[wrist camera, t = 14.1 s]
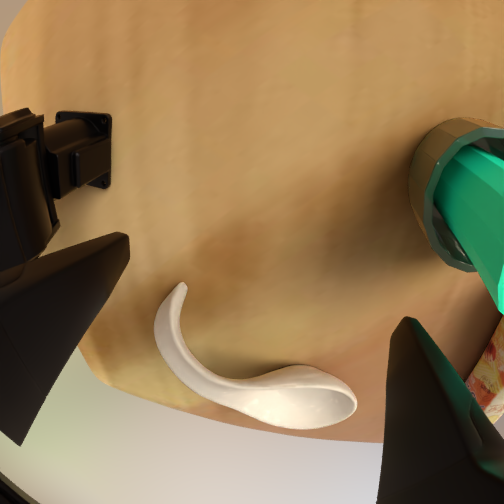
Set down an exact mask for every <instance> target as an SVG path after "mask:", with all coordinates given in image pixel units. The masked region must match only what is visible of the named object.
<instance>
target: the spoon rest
mask: <svg viewBox="0 0 504 504" xmlns="http://www.w3.org/2000/svg"><path fill="white" fill-rule="evenodd" d="M187 290H188V289H187V286H186V284H185V283H184V282H181V283H179V284H178V285H177V286H176V287H175V288H174V289H173V290H172V292H171V293H170V294H169V295H168V296H167V297H166V299H165V300H164V301H163V302H162V304H161V305H160V307H159V309H158V311H157V314H156V317H155V321H154V335H155V340H156V344H157V347H158V349H159V351H160V353H161V355H162V357H163V359H164V360H165V362H166V363H167V365H168V366H169V368H170V369H171V370H172V372H173V373H174V374H175V375H176V376H177V377H178V378H179V379H180V380H181V381H182V382H183V383H184V384H185V385H186V386H187V387H188V388H190V389H191V390H192V391H194V392H195V393H197V394H198V395H200V396H202V397H204V398H206V399H209V400H211V401H213V402H216V403H219V404H221V405H224V406H227V407H230V408H232V409H235V410H237V411H240V412H242V413H244V414H246V415H248V416H251V417H253V418H255V419H257V420H260V421H262V422H265V423H267V424H270V425H274V426H278V427H283V428H290V429H315V428H322V427H326V426H329V425H332V424H335V423H338V422H340V421H343V420H345V419H346V418H348V417H349V416H350V415H352V414H353V413H354V411H355V410H356V408H357V399H356V397H355V395H354V393H353V392H352V391H351V389H350V388H349V387H348V386H347V385H346V384H345V383H344V382H343V381H341V380H340V379H338V378H336V377H335V376H333V375H331V374H328V373H326V372H323V371H321V370H319V369H317V368H315V367H311V366H306V365H292V366H288V367H285V368H282V369H278V370H275V371H272V372H269V373H266V374H264V375H261V376H257V377H253V378H248V379H229V378H225V377H222V376H219V375H217V374H215V373H213V372H211V371H210V370H208V369H207V368H205V367H204V366H203V365H202V364H201V363H200V362H199V361H198V360H197V359H196V358H195V357H194V356H193V355H192V353H191V352H190V350H189V349H188V347H187V346H186V344H185V342H184V340H183V337H182V334H181V330H180V312H181V308H182V305H183V302H184V299H185V296H186V294H187Z"/></svg>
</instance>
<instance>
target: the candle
mask: <svg viewBox="0 0 504 504" xmlns="http://www.w3.org/2000/svg"><path fill="white" fill-rule="evenodd" d="M433 199H434V202H435V204H436V207H437V210H438V212H439V213H440V215H441V216H442V218H443V219H444V220H445V222H446V223H447V225H448V226H449V228H450V229H451V231H452V232H453V233H454V235H455V236H456V238H457V239H458V241H459V243H460V244H461V246H462V247H463V249H464V250H465V252H466V253H467V255H468V257H469V258H470V260H471V262H472V263H473V265H474V267H475V268H476V270H477V272H478V273H479V275H480V277H481V278H482V280H483V282H484V284H485V286H486V287H487V289H488V291H489V293H490V295H491V297H492V299H493V300H494V302H495V304H496V306H497V308H498V310H499V311H500V312H501V313H502V314H503V315H504V161H503V160H502V159H500V158H498V157H496V156H495V155H493V154H491V153H490V152H488V151H486V150H484V149H483V148H479V147H474V146H469V145H465V146H463V147H461V148H460V150H459V151H458V152H457V153H456V154H455V155H454V156H453V158H452V159H451V160H450V161H449V162H448V163H447V164H446V165H445V167H444V168H443V171H442V173H441V176H440V178H439V181H438V183H437V186H436V188H435V191H434V193H433Z"/></svg>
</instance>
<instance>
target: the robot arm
mask: <svg viewBox="0 0 504 504" xmlns="http://www.w3.org/2000/svg"><path fill="white" fill-rule="evenodd" d="M60 115H61V117H60ZM105 118H106V120H107V121H106V122H105ZM43 122H44V114H43V115H37V116H36V115H35V114H33V113H31V111H30V110H29V108H23V109H20V110H17V111H14V112H11V113H8V114H5V115H2V116H0V431H1V432H3V433H4V434H5V435H6V436H7V437H9V438H10V439H11V440H12V441H13V442H15V443H16V444H17V445H18V446H21V445H22V443H23V441H24V439H25V437H26V435H27V433H28V431H29V429H30V427H31V425H32V423H33V421H34V419H35V418H36V416H37V414H38V412H39V410H40V408H41V406H42V404H43V403H44V401H45V399H46V396H47V395H48V393H49V392H50V390H51V388H52V386H53V385H54V383H55V381H56V379H57V378H58V376H59V374H60V373H61V371H62V369H63V367H64V366H65V364H66V363H67V361H68V359H69V358H70V356H71V354H72V353H73V351H74V349H75V348H76V346H77V345H78V343H79V342H80V340H81V339H82V337H83V335H84V334H85V332H86V331H87V329H88V328H89V326H90V325H91V323H92V322H93V320H94V319H95V317H96V316H97V314H98V313H99V311H100V310H101V308H102V307H103V305H104V304H105V302H106V301H107V299H108V298H109V296H110V294H111V293H112V291H113V289H114V287H115V285H116V284H117V282H118V280H119V278H120V276H121V275H122V273H123V271H124V269H125V268H126V266H127V264H128V262H129V259H130V245H129V237H128V235H127V234H124V233H121V232H114V233H111V234H108V235H104V236H101V237H98V238H95V239H92V240H89V241H86V242H83V243H80V244H77V245H74V246H71V247H68V248H65V249H62V250H59V251H56V252H53V253H51V254H48V255H45V256H42V257H39V256H40V254H41V253H42V252H43V251H44V250H45V248H46V247H47V244H48V243H49V241H50V240H51V238H52V237H53V236H54V234H55V233H56V232H57V230H58V229H59V227H60V222H59V219H58V218H57V214H56V209H55V204H54V201H55V200H56V199H61V198H63V197H64V196H66V195H67V194H69V193H71V192H72V191H74V190H75V189H77V188H81V187H82V186H84V185H85V184H86V185H90V186H94V187H98V188H102V189H106V188H108V187H109V186H110V184H111V128H112V117H111V115H110V114H107V113H94V112H79V111H59V112H57V113H56V124H54V125H51V126H48V127H45V128H43ZM104 181H105V183H106V184H105V183H104ZM38 257H39V258H38ZM0 504H40V503H38V502H37V501H36V500H34V499H33V498H32V497H30V496H29V495H28V494H26V493H25V492H24V491H23V490H21V489H20V488H19V487H17V486H16V485H15V484H14V483H13V482H12V481H10V480H9V479H8V478H7V477H6V476H5V475H3V474H2V473H1V472H0ZM376 504H504V439H503V438H502V436H501V435H500V434H499V432H498V431H497V430H496V428H495V427H494V426H493V424H492V423H491V421H490V420H489V419H488V417H487V416H486V414H485V413H484V411H483V410H482V408H481V407H480V405H479V404H478V402H477V401H476V399H475V398H474V397H473V395H472V393H471V392H470V391H469V389H468V388H467V386H466V385H465V383H464V382H463V380H462V379H461V378H460V376H459V375H458V373H457V372H456V371H455V369H454V368H453V366H452V365H451V364H450V362H449V361H448V360H447V358H446V357H445V355H444V354H443V353H442V351H441V350H440V349H439V347H438V346H437V345H436V343H435V342H434V341H433V340H432V338H431V337H430V336H429V334H428V333H427V332H426V330H425V329H424V328H423V327H422V325H421V324H420V323H419V322H418V320H417V319H415V318H411V317H408V316H406V317H404V318H403V319H402V320H401V322H400V323H399V325H398V326H397V327H396V329H395V330H394V332H393V333H392V335H391V339H390V349H389V360H388V369H387V380H386V410H385V429H384V443H383V455H382V465H381V474H380V481H379V489H378V496H377V501H376Z"/></svg>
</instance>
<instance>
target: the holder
mask: <svg viewBox="0 0 504 504" xmlns="http://www.w3.org/2000/svg"><path fill="white" fill-rule="evenodd" d="M465 145H469V146H474V147H479V148H483V149H484V150H486V151H488V152H490V153H491V154H493V155H495V156H496V157H498V158H500V159H502V160H503V161H504V128H503V127H500V126H497V125H495V124H492V123H490V122H487V121H484V120H481V119H474V118H455V119H451V120H448V121H445V122H443V123H442V124H440V125H438V126H437V127H435V128H434V129H433V130H431V131H430V132H429V133H428V134H427V135H426V136H425V138H424V139H423V140H422V142H421V143H420V144H419V146H418V148H417V150H416V152H415V154H414V156H413V159H412V162H411V165H410V169H409V175H408V194H409V199H410V204H411V207H412V210H413V212H414V214H415V216H416V219H417V222H418V224H419V226H420V227H421V229H422V231H423V233H424V235H425V237H426V239H427V240H428V242H429V244H430V246H431V248H432V249H433V250H434V251H435V252H436V254H437V255H438V256H439V257H440V258H441V259H442V260H443V261H444V262H445V263H446V264H447V265H448V266H451V267H454V268H457V269H459V270H462V271H465V272H477V270H476V268H475V267H474V265H473V263H472V262H471V260H470V258H469V257H468V255H467V253H466V252H465V250H464V249H463V247H462V246H461V244H460V243H459V241H458V239H457V238H456V236H455V235H454V233H453V232H452V231H451V229H450V228H449V226H448V225H447V223H446V222H445V220H444V219H443V218H442V216H441V215H440V213H439V212H438V210H437V207H436V204H435V202H434V199H433V193H434V191H435V188H436V186H437V183H438V181H439V178H440V176H441V173H442V171H443V168H444V167H445V165H446V164H447V163H448V162H449V161H450V160H451V159H452V158H453V156H454V155H455V154H456V153H457V152H458V151H459V150H460V148H461V147H463V146H465Z"/></svg>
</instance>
